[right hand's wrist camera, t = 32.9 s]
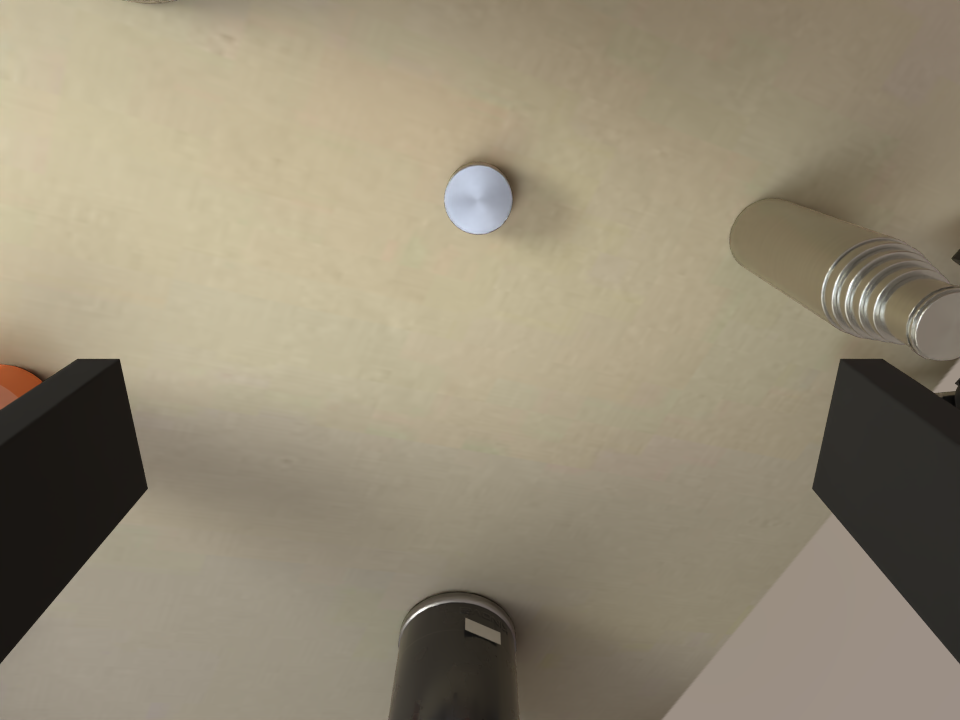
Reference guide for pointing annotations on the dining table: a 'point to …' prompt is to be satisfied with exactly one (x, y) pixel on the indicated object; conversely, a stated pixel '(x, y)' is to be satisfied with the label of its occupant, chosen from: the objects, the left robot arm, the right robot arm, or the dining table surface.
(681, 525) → the dining table surface
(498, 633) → the left robot arm
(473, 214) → the cap
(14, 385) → the cup with straw
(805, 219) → the bottle
